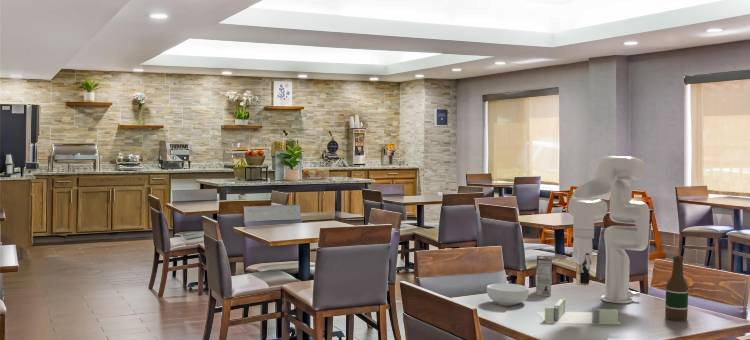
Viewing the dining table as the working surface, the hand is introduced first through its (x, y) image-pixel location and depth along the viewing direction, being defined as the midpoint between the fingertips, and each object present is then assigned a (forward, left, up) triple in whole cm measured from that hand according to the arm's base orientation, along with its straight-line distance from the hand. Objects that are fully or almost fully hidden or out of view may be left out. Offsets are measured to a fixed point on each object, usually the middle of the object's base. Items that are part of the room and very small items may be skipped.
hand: (582, 281), depth 264 cm
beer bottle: (-37, -3, -15) cm, 40 cm away
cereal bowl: (+23, -25, -15) cm, 37 cm away
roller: (0, 0, -1) cm, 1 cm away
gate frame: (+1, -1, -15) cm, 15 cm away
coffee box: (+3, -45, -15) cm, 48 cm away
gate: (+7, -4, -14) cm, 16 cm away
